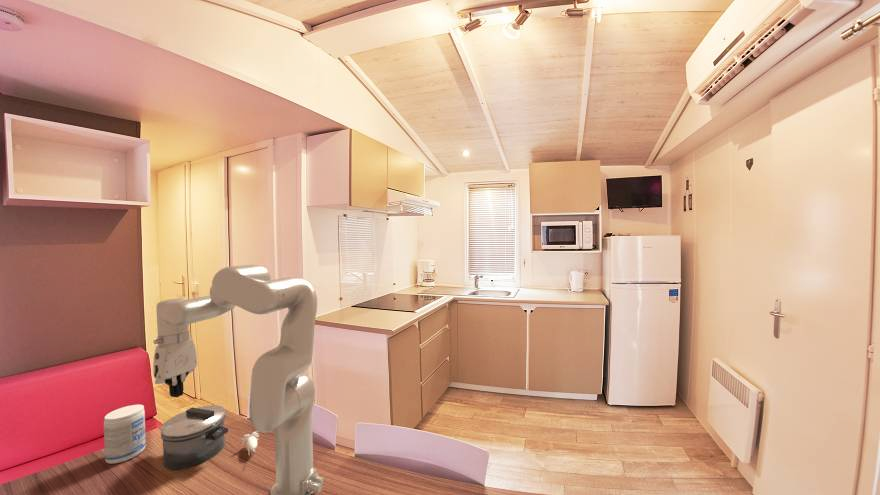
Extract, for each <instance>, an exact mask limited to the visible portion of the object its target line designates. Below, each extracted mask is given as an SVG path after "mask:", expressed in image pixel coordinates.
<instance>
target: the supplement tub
mask: <svg viewBox="0 0 880 495" xmlns="http://www.w3.org/2000/svg"><path fill="white" fill-rule="evenodd" d="M145 413H146V412H145V406H144V405H143V404H133V405H127V406H123V407H120V408H117V409H115V410H113V411H110V412H108V413H107V414H106V415H105V416H104V417H103V418H104V421H103V438H104V439H103V440H104V460H105V462H106V463H107V464H110V465H115V464H118V463H123V462H126V461H128V460H131V459H133V458H135V457H136V456H138V455H139V454H141V453H142V452H143V451H145V448H146V442H147V441H146V419H145V418H146V414H145Z"/></svg>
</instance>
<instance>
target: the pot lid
mask: <svg viewBox="0 0 880 495" xmlns="http://www.w3.org/2000/svg"><path fill="white" fill-rule="evenodd" d="M225 410H226V409H225V408H224V407H223V406H220V405H213V404H212V405H203V406H198V407H190V408H188V409H186V410H185V411H182V412H180V413H177V414H176V415H174V416H172V417H170V418H169V419H167V420H166V421H165V422H163V424H162V425H161V427H160V428H161V429H160V431H161V432H160V435H161V434H162V436H164V437H167V438H180V437H186V436H190V435H193V434H197V433H199V432H202V431H205V430H207V429H209V428H211V427H213V426H214V425H216V424H218V423H219V422H220V421H221V420H222V419H223V418H224V416H225Z"/></svg>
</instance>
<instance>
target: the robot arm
mask: <svg viewBox="0 0 880 495" xmlns="http://www.w3.org/2000/svg"><path fill="white" fill-rule="evenodd" d="M271 277H272V276H271V274H270V271H269V270H268V269H267V268H266V267H265V266H262V265H259V264H245V265H243V264H242V265H236V266H234V265H232V266H228V267H227V266H226V267H224V268H221V269H219V270H218V271H217V272H216V273H214V275H213V278H212V280H211V286H210V288H209V295H205V296H200V297H195V298H189V299H185V298H172V299H171V298H170V299H165V300H161V301H159V302H158V303H157V304H156V310H155V311H156V326H157V328H156V329H157V338H156V339H154V340H153V344H154V345H156V346H155V349H154V354H153V365H152V369H153V371H152V373H153V377H154V384H155V385H162V384H166V385H167V386H169V387H168V391H169V392H168V393H169V396H170V397H172V398H179V397H180V396H181V397H182V396H183V395H184V382H186V378H187V377H188V375H189V374H191V373H192V372H194V371H195V369H196V368H197V366H198V356H197V351H196V347H195V343H194V340H193V338H190V325H191V324H195V323H198V322H203V321H206V320H210V319H214V318H218V317H219V316H221V315H224V314H225V313H228V312H230V311H232V310H233V309H235V307H237V308H240V309H242V310H244V311H246V312H249V313H251V314H253V315H267V314H271V313H274V312H278V311H281V310H284V309H288V311H287V313H286V314H285V317H284V319H283V321H282V323H281V327H280V328H281V329H280V338H279V344H278V345H277V346H276V347H275V348H272V349H270V350H268V351H266V352H264V353H263V354H261V355H260V356H259V357H258V358H257V359H256V361H255V363H254V365H253V368H252V370H251V377H250V393H249V394H250V395H249V406H248V407H249V410H248V411H249V420H250V423H251V425H252V426H253V428H254V429H255V430H256V431H258V433H262V434H267V433H271V432H273V431H274V442H275V443H274V444H275V448H274V449H275V483H274V484H273V485H272V486H271V489H270V492H269V495H311V494H312V495H313V494H314V493H317V494H318V493H321V491H323V483H324V480H325V477H322V476H320V475H319V473H318V471H317V468H316V467H314V445H313V442H314V440H313V439H314V438H313V411H314V403H315V397H316V387H315V383H314V381H313V380H312V379H311V377H309V376H308V375H305V374H303V373H304V372H306V371H307V370H308V369H309V368H310V367H311V366H312V363H313V362H312V361H313V356H314V353H313V352H314V339H315V324H316V316H317V310H318V297H317V294H316V293H317V292H316V290H315V289H314V287H313V286H312V284H311V283H310V282H309V281H308V280H305V279H304V278H301V277H298V276H297V277H296V276H289V277H281V278H275V279H271Z"/></svg>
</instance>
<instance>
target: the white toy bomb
mask: <svg viewBox="0 0 880 495" xmlns="http://www.w3.org/2000/svg"><path fill="white" fill-rule="evenodd" d="M243 436H244V437H242V438H241V440H243V441H241V443H242V444H241V445H242V446H243V445H245V444H246V447H247V448H246V449H247V450H246V451H248V452H247V453H248V456H251V453H250V452H251V451H252V452H254V454H256V453H257V446H258V441H259V440H260V439H259V437H260V432H259V431H257V430H256V431H253V432H252V433H250V434H249V433H248V434H243Z"/></svg>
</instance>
